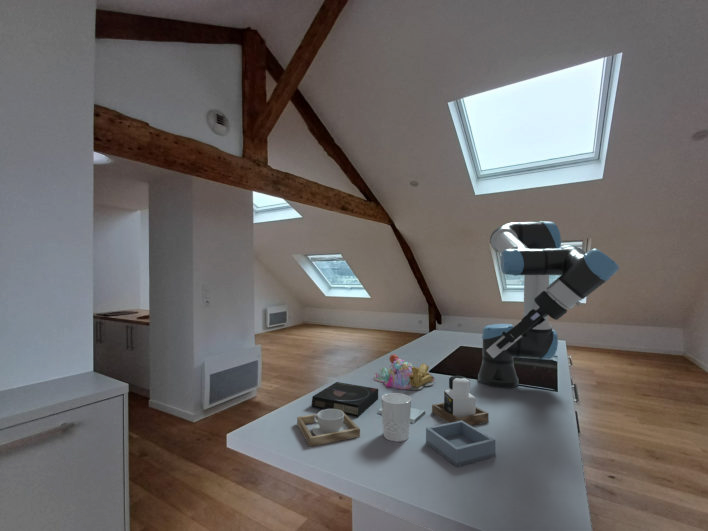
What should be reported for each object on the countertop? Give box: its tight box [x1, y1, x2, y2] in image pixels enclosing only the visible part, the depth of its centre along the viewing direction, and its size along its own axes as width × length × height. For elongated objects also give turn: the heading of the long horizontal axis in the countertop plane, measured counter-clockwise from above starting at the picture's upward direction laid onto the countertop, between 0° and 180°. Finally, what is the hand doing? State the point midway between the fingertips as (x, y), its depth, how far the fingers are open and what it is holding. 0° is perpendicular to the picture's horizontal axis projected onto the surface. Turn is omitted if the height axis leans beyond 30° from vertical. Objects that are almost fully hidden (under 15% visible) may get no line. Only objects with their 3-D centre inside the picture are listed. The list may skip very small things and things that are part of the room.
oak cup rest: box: [296, 410, 361, 447], centre depth 91 cm, size 14×14×2 cm
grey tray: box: [425, 420, 496, 468], centre depth 82 cm, size 12×12×4 cm
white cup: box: [381, 392, 412, 443], centre depth 89 cm, size 8×8×10 cm
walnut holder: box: [431, 402, 489, 426], centre depth 101 cm, size 12×12×2 cm
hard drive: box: [377, 407, 426, 424], centre depth 103 cm, size 2×8×12 cm
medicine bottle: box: [443, 375, 477, 418], centre depth 101 cm, size 7×7×12 cm
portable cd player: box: [311, 381, 379, 418], centre depth 111 cm, size 16×17×4 cm
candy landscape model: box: [374, 353, 436, 391], centre depth 136 cm, size 25×24×9 cm
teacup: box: [312, 409, 349, 436], centre depth 91 cm, size 10×10×5 cm
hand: (496, 350), depth 95 cm, fingers open, 13 cm apart
